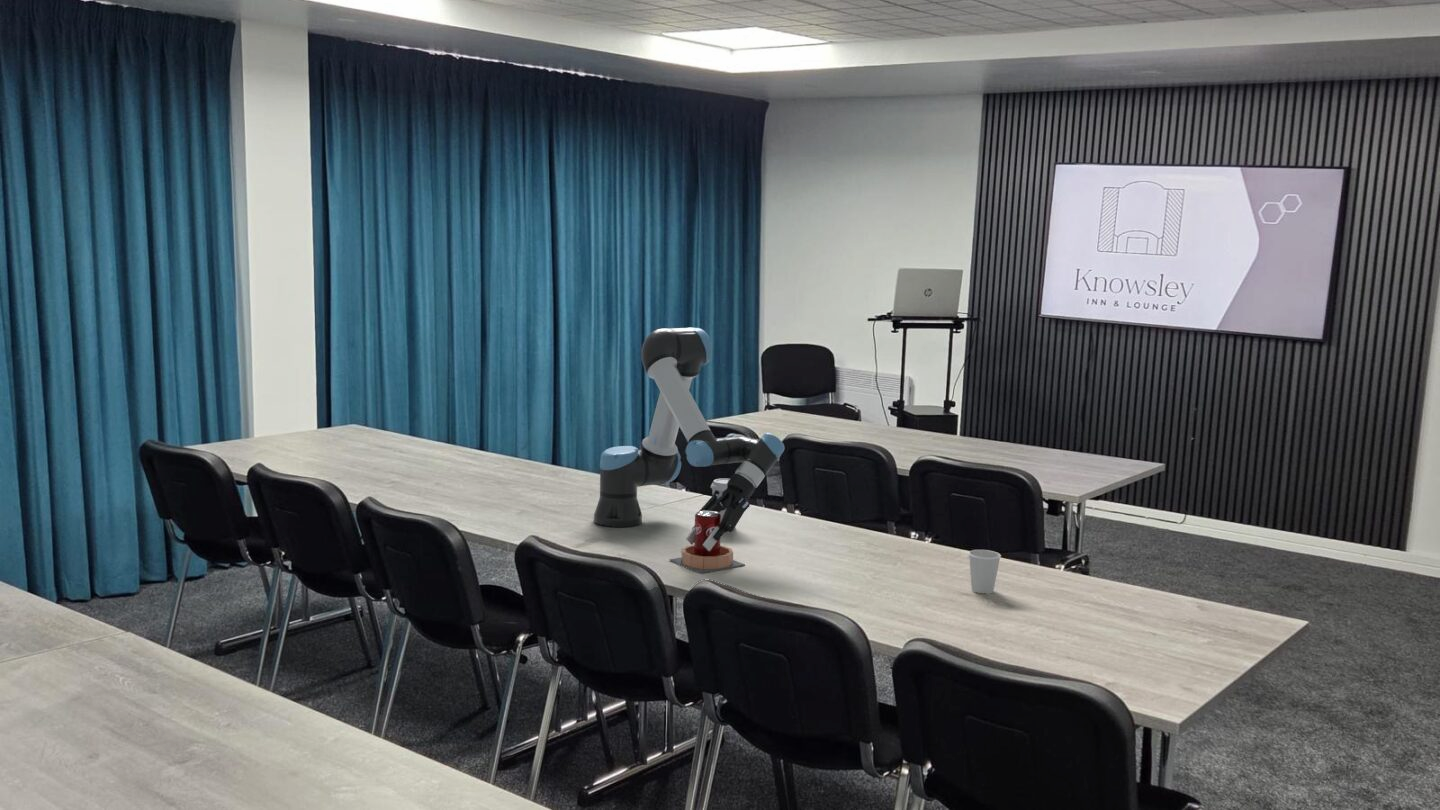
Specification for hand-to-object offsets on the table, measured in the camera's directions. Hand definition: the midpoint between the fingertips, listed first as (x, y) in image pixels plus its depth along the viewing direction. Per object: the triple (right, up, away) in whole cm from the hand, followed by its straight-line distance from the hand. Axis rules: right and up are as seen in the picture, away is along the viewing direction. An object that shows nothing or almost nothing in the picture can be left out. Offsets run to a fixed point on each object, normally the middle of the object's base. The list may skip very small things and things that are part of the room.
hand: (697, 544), depth 326 cm
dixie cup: (+75, -10, -15) cm, 77 cm away
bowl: (+3, -5, +3) cm, 7 cm away
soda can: (+3, -4, +3) cm, 5 cm away
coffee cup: (+8, 0, +43) cm, 44 cm away
